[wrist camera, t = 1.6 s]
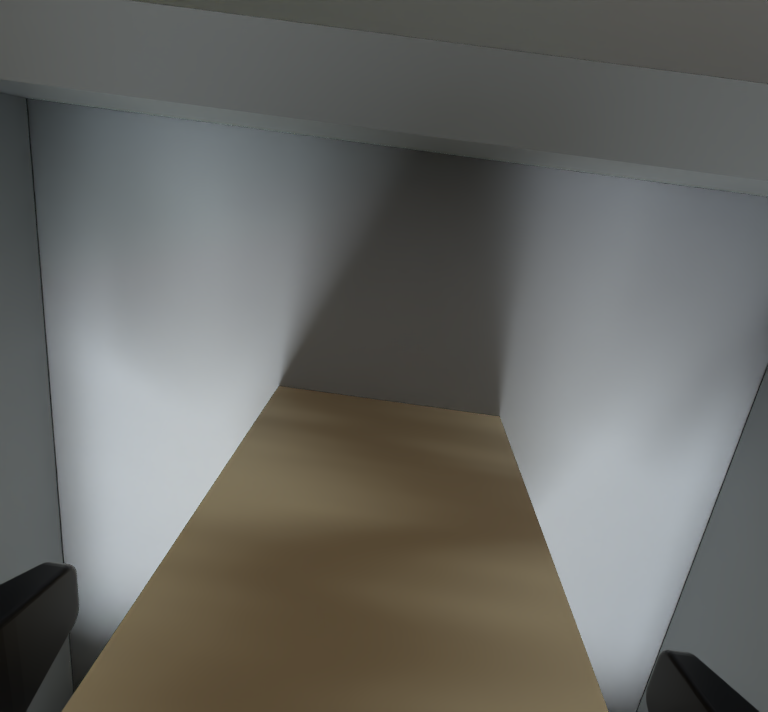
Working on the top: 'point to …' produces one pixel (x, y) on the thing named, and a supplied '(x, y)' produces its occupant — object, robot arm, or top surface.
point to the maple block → (353, 577)
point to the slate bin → (387, 128)
